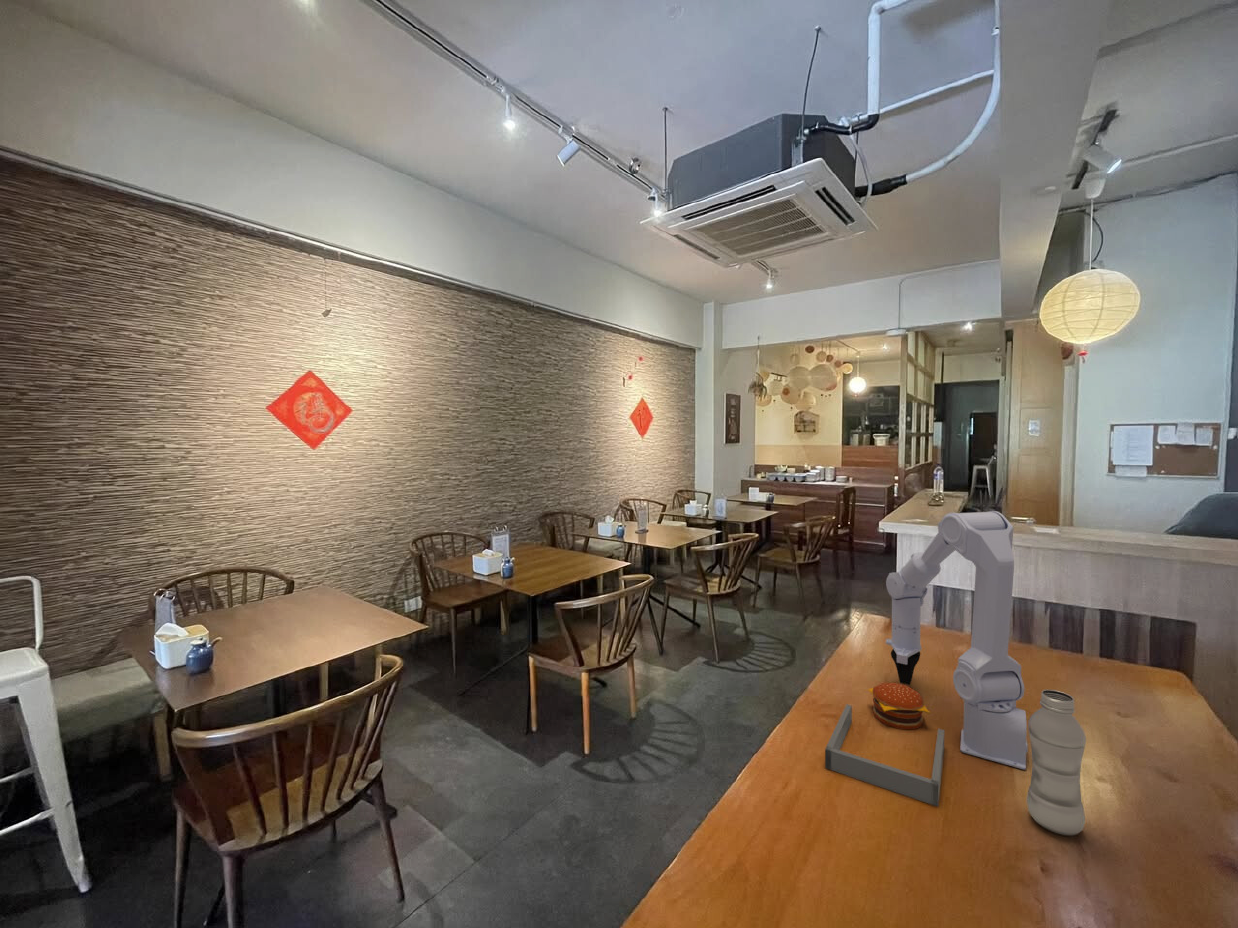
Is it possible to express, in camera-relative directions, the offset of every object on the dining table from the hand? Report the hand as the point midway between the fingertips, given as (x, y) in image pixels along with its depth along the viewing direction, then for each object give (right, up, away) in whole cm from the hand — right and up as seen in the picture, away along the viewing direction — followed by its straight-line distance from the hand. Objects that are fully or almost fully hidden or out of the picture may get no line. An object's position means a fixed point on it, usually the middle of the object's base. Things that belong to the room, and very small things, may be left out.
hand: (905, 682), depth 117 cm
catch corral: (-17, -3, -24) cm, 30 cm away
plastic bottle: (-1, -4, -41) cm, 41 cm away
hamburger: (-8, -3, -11) cm, 14 cm away
